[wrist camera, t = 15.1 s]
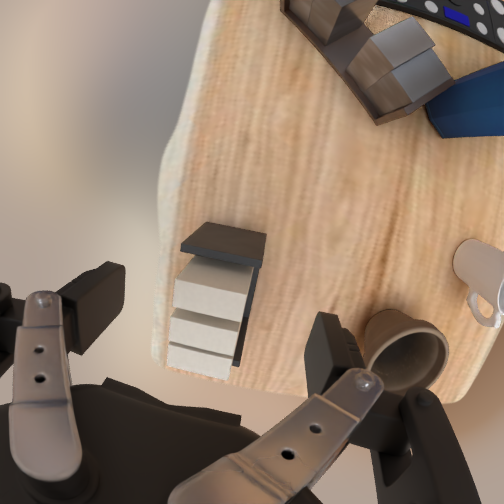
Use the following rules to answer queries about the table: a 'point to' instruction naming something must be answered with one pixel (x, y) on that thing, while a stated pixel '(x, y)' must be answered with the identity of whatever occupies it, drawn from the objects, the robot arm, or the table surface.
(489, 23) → the remote control
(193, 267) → the white book
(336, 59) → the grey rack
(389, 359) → the flower pot
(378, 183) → the table surface
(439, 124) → the book
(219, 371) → the dark book holder
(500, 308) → the mug
